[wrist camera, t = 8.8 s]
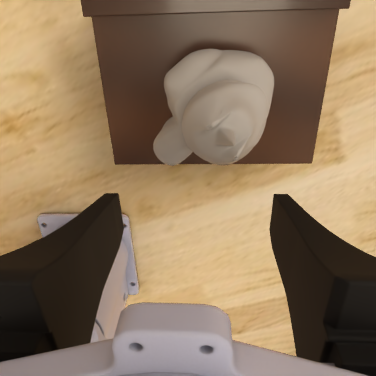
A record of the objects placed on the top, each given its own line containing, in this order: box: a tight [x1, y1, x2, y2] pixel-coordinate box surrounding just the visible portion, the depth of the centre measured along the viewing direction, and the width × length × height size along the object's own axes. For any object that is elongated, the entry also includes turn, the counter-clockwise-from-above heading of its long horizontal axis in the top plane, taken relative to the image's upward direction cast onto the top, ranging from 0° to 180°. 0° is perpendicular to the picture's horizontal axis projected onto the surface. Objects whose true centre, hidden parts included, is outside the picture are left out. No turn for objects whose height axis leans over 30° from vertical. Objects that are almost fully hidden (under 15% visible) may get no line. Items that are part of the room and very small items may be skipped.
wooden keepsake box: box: [81, 0, 351, 164], centre depth 19 cm, size 9×12×6 cm
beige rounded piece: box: [153, 49, 274, 166], centre depth 15 cm, size 5×7×8 cm
